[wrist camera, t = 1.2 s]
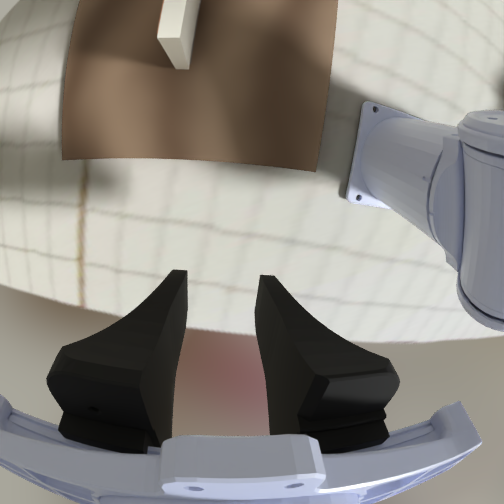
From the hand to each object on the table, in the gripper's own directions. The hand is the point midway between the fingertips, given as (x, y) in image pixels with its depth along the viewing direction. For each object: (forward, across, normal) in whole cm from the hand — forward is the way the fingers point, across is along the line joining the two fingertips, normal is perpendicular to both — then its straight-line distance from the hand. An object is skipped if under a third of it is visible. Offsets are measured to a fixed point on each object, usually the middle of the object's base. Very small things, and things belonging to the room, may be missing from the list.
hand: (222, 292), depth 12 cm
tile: (+4, +3, -14) cm, 15 cm away
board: (+10, +3, -12) cm, 16 cm away
